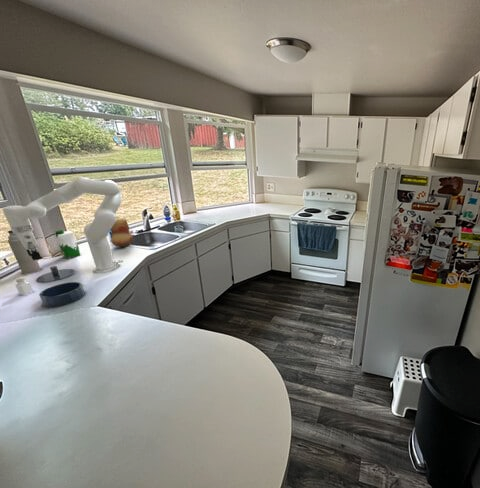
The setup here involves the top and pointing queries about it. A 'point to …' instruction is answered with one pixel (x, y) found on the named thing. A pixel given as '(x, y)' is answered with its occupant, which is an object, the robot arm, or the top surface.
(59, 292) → the pot
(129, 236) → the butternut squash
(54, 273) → the lid
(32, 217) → the robot arm
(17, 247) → the thermos bottle
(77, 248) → the milk carton
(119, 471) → the top surface
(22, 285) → the pepper shaker
